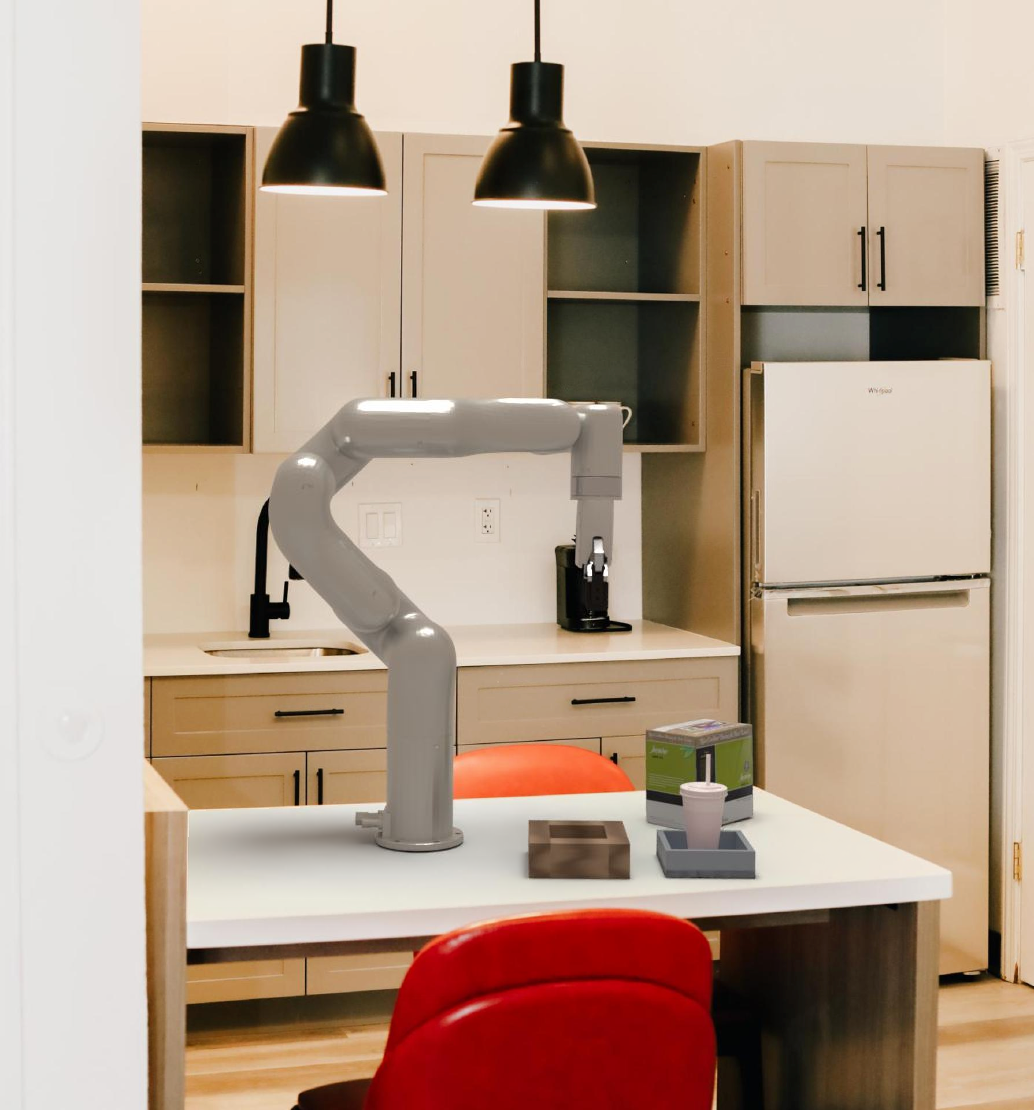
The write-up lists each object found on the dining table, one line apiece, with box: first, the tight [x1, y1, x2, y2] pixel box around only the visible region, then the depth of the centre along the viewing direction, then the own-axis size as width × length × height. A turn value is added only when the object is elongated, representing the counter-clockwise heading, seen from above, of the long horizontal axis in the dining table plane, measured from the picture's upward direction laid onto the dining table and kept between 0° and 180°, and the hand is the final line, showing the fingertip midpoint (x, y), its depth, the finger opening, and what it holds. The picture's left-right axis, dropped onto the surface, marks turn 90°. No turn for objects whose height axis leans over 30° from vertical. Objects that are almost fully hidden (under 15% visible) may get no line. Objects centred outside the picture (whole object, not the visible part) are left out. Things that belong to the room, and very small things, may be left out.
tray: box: [655, 829, 756, 879], centre depth 180 cm, size 12×12×4 cm
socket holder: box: [527, 819, 631, 880], centre depth 180 cm, size 13×13×4 cm
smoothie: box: [680, 754, 728, 850], centre depth 180 cm, size 6×6×14 cm
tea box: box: [645, 717, 754, 830], centre depth 207 cm, size 15×10×15 cm
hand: (594, 607), depth 196 cm, fingers open, 9 cm apart
